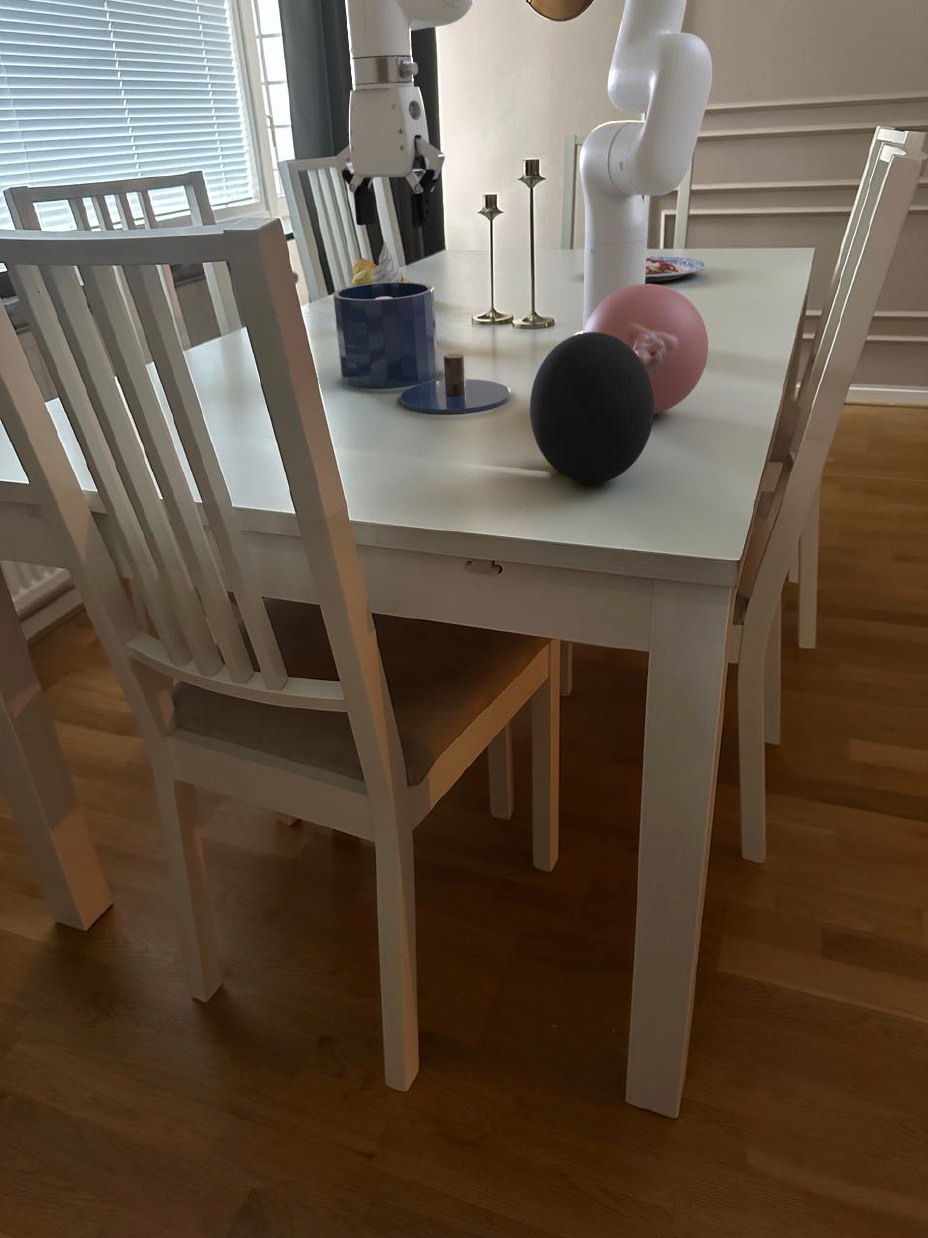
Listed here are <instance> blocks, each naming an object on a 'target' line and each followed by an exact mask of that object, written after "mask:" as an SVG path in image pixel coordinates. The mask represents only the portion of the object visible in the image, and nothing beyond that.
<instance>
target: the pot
mask: <svg viewBox="0 0 928 1238" xmlns="http://www.w3.org/2000/svg"><path fill="white" fill-rule="evenodd" d="M434 292H435V291H434V287H433V286H432V285H431V284H427V283H421V282H412V281H411V282H410V281H409V282H383V283H371V284H363V285H356V286H351V285H350V286H347V287H343V288H340V289H337V290H335V291H334V292H332V300H333V310H334V318H335V328H336V337H337V348H338V356H339V365H340V375H341V381H342V383H344V384H346V385H347V386H350V387H354V388H358V389H367V390H368V389H370V390H391V389H400V388H407V387H414V386H418V385H421V384H425V383H429V382H431V381H432V380H434V379H435V378H437V376H438V375H439V364H438V363H439V362H438V346H437V344H438V343H437V329H436V312H435V310H436V309H435V308H436V307H435V293H434ZM378 297H392V298H389V299H376V298H378Z"/></svg>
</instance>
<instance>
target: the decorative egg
mask: <svg viewBox="0 0 928 1238" xmlns="http://www.w3.org/2000/svg"><path fill="white" fill-rule="evenodd" d="M529 400H530V401H529V416H530V418H529V419H530V424H531V430H532V433H533V437H534V439H535V443H536V444H537V447H538V449H539V451H540V452H541V454H542V455H543V457H544V458H545V460H546V461H547V463H548V464H549V465H550V466H551V467H552V468H553V469H554V470H555V471H557V473H559V474H560V475H562V476H563V477H565V478H567V479H570V480H571V481H575V482H577V483H583V484H600V483H605V482H608V481H611V480H613V479H615V478H617V477H619V476H621V475H623V474H624V473H625V472H626V471H627V470H629V469H630V468H631V467H632V466H633V465H634V464H635V463H636V461H637V460H639V458H640V456H641V455H642V453H643V451H644V450H645V447H646V446H647V443H648V441H649V438H650V435H651V433H652V429H653V424H654V417H655V414H654V396H653V390H652V385H651V382H650V378H649V376H648V373H647V371H646V368H645V366H644V365H643V363H642V361H641V360H640V358H639V357H638V355H637V354H636V353H635V352H634V351H633V350H632V349H631V348H630V347H629V346H628V345H627V344H625V343H624V342H623V341H621V340H620V339H618V338H616V337H614V336H611V335H608V334H604V333H600V332H586V333H581V334H577V335H575V334H573V335H572V336H569V337H567V338H566V339H564V340H563V341H561V342H560V343H558V344H557V345H556V346H555V347H554V348H552V350H551V351H550V352H549V353H548V354H547V356H546V357H545V358H544V359H543V361H542V363H541V364H540V367H539V368H538V370H537V372H536V374H535V378H534V380H533V384H532V388H531V393H530V399H529Z"/></svg>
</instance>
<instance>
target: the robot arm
mask: <svg viewBox="0 0 928 1238" xmlns="http://www.w3.org/2000/svg"><path fill="white" fill-rule="evenodd" d="M344 1H345V11H346V22H347V33H348V45H349V55H350V56H349V57H350V67H351V68H350V69H351V78H352V80H351V81H352V90H350V94H349V95H350V96H349V108H348V109H349V110H348V133H349V136H348V137H349V144H348V145H347V146H346V147H344V148H343V150H341V151H339V153H338V154H336V157H335V160H336V162H337V164H338V167H339V169H340V171H341V176H342V179H343V180H344V181H345V182H346V184H347V186H348V190H349V192H350V193H351V194H352V193H353V201H354V211H355V213H354V214H355V222H356V225H357V226H365V225H371V224H374V223H375V222H376V212H375V209H376V208H375V197H374V192H373V190H369V189H370V188H371V185H372V184H373V181H374V179H375V178H405V179H406V181H407V183H408V184H409V186H410V187H411V188H412V190H413V192H414V193H410V209H411V223H412V224H411V225H412V227H413V228H416V229H417V228H424V227H428V226H431V225H432V201H431V193H432V192H433V191H434V190H435V185H436V184H437V182H438V181H439V179H440V178H441V171H442V169H443V166H444V163H445V159H446V156H445V154H444V153H443V151H441V150H440V149H438V148H436V147H435V146H434V145H432V144H431V143H430V139H429V130H428V124H427V117H426V111H425V106H424V101H423V97H422V93H421V90H420V87H419V86H415V85H414V76H416V75H417V74H418V72H419V66H418V65H419V64H418V63H417V62H414V61H413V57H412V56H413V55H412V39H411V38H412V37H411V32H412V31H419V30H424V29H429V28H438V27H443V26H449V25H451V24H453V23H456V22H458V21H460V20H461V19H463V18H464V17H465V16H466V14H468V12H469V11H470V9H471V7H472V6H473V3H474V1H475V0H344ZM686 8H687V0H625V2H624V8H623V14H622V17H621V23H620V27H619V30H618V35H617V39H616V43H615V47H614V52H613V56H612V60H611V64H610V69H609V73H608V79H607V94H608V99H609V101H610V103H611V104H612V105H613V106H614V107H615V108H616V109H617V110H619V111H622V112H625V113H629V114H646V115H645V120H618V121H617V120H616V121H608V122H606V123H603V124H600V125H598V126H597V127H595V128H593V130H591V132H589V134H587V136H586V138H585V139H584V141H583V143H582V147H581V148H580V153H579V162H578V163H579V174H580V182H581V188H582V195H583V202H584V205H583V206H584V254H583V255H584V256H583V257H584V265H583V312H582V314H583V317H582V318H583V319H582V330H581V331H579V332H576V333H575V334H574V335H577V334H581V333H582V332H583V329H584V327H585V324H586V322H587V320H588V319H589V317H590V315H591V314H592V312H593V311H594V310H595V309H596V307H597V306H598V305H599V304H600V303H601V302H602V301H603V300H605V299H606V298H607V297H609V296H610V295H611V294H613V293H615V292H617V291H619V290H621V289H623V288H626V287H629V286H633V285H638V284H646V282H645V273H646V257H647V253H648V251H647V250H648V232H649V221H648V214H647V209H646V206H645V201H644V199H643V196H647V197H659V196H665V195H668V194H669V193H671V192H674V190H676V189H677V188H678V187H679V186H680V185H681V183H682V182H683V181H684V179H685V177H686V174H687V173H688V170H689V168H690V165H691V162H692V159H693V156H694V155H693V154H694V153H695V148H696V145H697V142H698V138H699V134H700V131H701V127H702V123H703V119H704V116H705V113H706V109H707V105H708V101H709V97H710V94H711V89H712V83H713V62H712V56H711V53H710V50H709V48H708V46H707V44H706V43H705V41H704V40H703V39H702V38H700V37H699V36H697V35H696V34H693V33H689V32H682V27H683V23H684V19H685V18H684V17H685V14H686Z"/></svg>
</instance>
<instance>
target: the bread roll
mask: <svg viewBox="0 0 928 1238" xmlns="http://www.w3.org/2000/svg"><path fill="white" fill-rule="evenodd" d="M377 266H378V265H377V264H375V263H374V262H372V261H370V260H369V259H366V258H364V257H361V258H359V259H357V260H355V262H354V264H353V267H352V276H353V277H352V281H351V285H350V287H351V286H356V285H363V284H371V283H374V280H375V278H374V277H373V273H374V272H375V268H376V267H377ZM399 270H400V271H401V280H400V282H410V280H408V279H407V278H404V273H403V271H402V270H401V269H399Z"/></svg>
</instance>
